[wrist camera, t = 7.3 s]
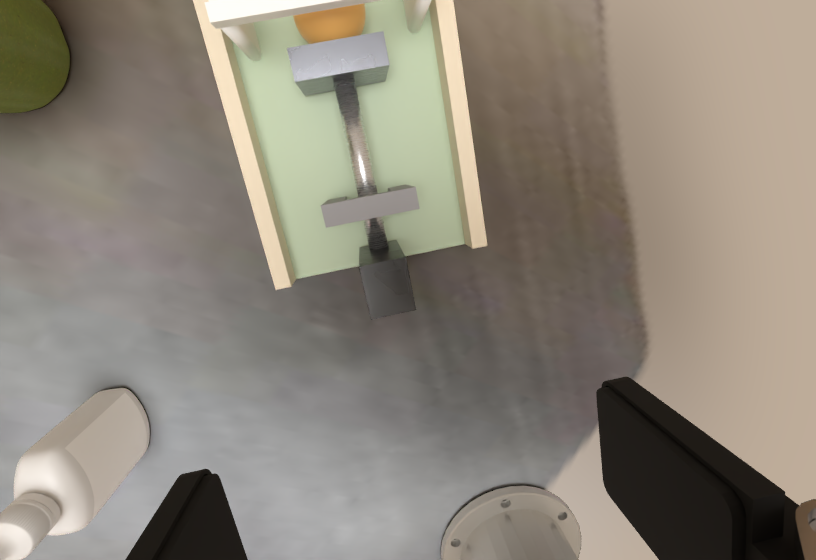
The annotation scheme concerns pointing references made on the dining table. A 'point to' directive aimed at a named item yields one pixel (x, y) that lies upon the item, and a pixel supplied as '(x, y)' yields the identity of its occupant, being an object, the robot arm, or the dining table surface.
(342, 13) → the ball
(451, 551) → the robot arm
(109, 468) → the eye dropper bottle
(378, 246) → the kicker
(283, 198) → the pitch
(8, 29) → the plant pot
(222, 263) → the dining table surface
